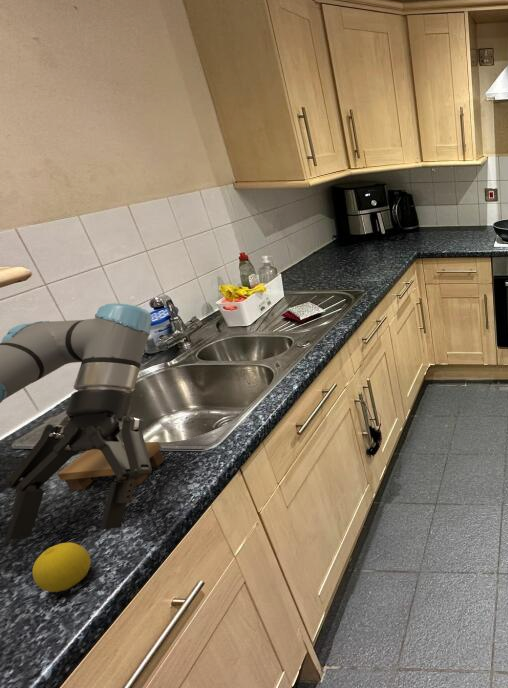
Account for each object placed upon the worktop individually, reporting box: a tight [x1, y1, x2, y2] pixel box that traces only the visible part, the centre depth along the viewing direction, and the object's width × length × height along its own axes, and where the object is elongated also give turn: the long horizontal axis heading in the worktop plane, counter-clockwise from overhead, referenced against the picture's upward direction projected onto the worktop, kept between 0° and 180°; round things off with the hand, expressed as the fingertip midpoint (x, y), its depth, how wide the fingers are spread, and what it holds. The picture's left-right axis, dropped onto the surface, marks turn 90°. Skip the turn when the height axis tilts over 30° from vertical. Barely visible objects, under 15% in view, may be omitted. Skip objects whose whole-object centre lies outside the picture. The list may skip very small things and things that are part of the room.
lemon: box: [32, 542, 92, 593], centre depth 61 cm, size 6×6×8 cm
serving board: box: [56, 441, 166, 491], centre depth 82 cm, size 14×7×5 cm, turn 93°
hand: (64, 533), depth 61 cm, fingers open, 13 cm apart
